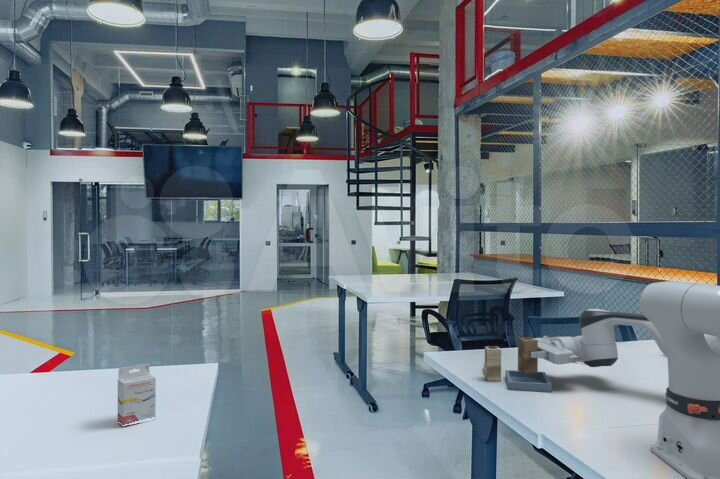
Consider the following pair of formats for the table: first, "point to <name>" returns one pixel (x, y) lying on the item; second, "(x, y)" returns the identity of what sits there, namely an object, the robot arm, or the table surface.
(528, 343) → the walnut block
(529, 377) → the tray
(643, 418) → the table surface
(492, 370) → the oak block
